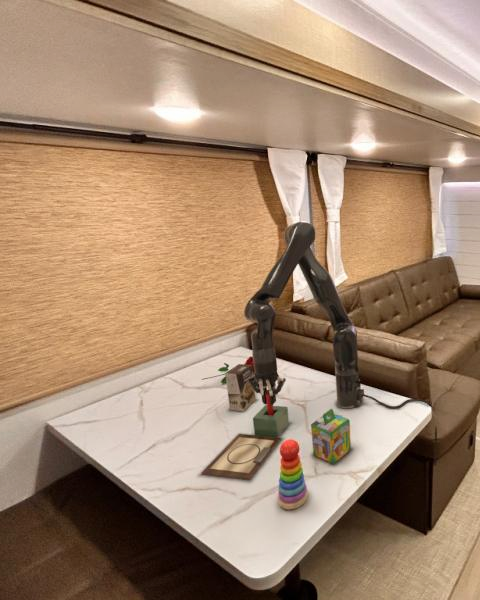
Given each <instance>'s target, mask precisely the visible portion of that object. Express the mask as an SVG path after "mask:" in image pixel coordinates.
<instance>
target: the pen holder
mask: <svg viewBox="0 0 480 600" xmlns="http://www.w3.org/2000/svg"><path fill="white" fill-rule="evenodd" d="M273 410H274V415H273V416H271V415H268V410H267V404H264V406H263V407H262V408H261V409H260V410H258V412H257V413H256V414H255V415H254V416H253V417H252V422H253V423H252V424H253V431H254V435H257V436H267V437H277V438H280V436H281V435H282V434H283V432H284V430H286V428H287V427H288V426H289V425H290V418H289V408H288V406H281V405H273Z"/></svg>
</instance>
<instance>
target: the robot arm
mask: <svg viewBox="0 0 480 600" xmlns="http://www.w3.org/2000/svg"><path fill="white" fill-rule="evenodd" d="M316 237H317V231H316V228H315V226H314V225H313V224H312V223H310V222H308V221H304V220H302V221H297V222H295V223H292V224H291V225H288V226H287V227H286V228H285V230H284V233H283V239H284V242H285V244H286V248H285V249H284V252H283V253H282V254H281V256H280V257H279V259H278V260H277V261H276V262H275V264H274V265H273V266H272V268H271V269H270V270H269V272H268V273H267V275H266V277H265V279H264V281H263V283H262V285H261V287H260V288H259V289H258V290H257V291H256V292H255V293H254V294H253V296H252V297H251V298H250V299H249V300H248V301H247V303H246V304H245V307H244V310H243V312H244V313H243V315H244V318H245V320H247V321H249V322H251V323H255V324H257V328H256V329H254V330H253V331H252V332H251V336H250V340H251V346H252V347H251V348H252V349H251V351H252V353H251V354H252V355H251V356H252V357H253V364H254V372H253V373H254V374H253V376H252V377H251V378H250V379H248V381H249V383H250V384H251V386H252V387H253V389H254V390H255V394H260V395H261V402H262V404H263V405H267V403H266V395H265V391H266V390H269V393H270V396H269V397H270V405H273V406H274V404H276V402H277V395H278V394H279V393H280V392H281V391H282V390H283V387H284V385H285V383H286V381H287V380H286V378H285V377H283V378H282V377H280V375H279V373H278V362H277V352H276V347H275V339H274V330H275V325H276V320H277V319H276V318H277V314H276V310H275V308H274V307H273V305H271V304H270V303H271V302H273V301H278V300H279V299H280V298H281V296H282V294H283V293H284V290H285V289H286V287H287V285H288V283H289V280H290V279H291V277H292V275H293V273H294V271H295V270H296V268H297V266H299V268H300V271H301V273H302V275H303V278H304V279H305V281H306V284H307V286H308V288H309V290H310V292H311V294H312V297H313V299H314V300H315V302H316V303H317V305H318V307H319V308H320V309H321V310H322V311H323V312H324V314H325V315H326V317H327V318H328V321H329V323H330V325H331V329H332V331H333V335H332V350H333V351H332V352H333V360H334V374H335V375H334V376H335V390H336V391H335V392H336V406H338V407H339V408H341V409H352V408H358V407H359V405H360V403H361V402H362V400H363V398H364V397H365V398H367V399H371V400H373V401H374V402H376V403H377V404H379V405H381V406H384V407H386V408H387V409H399V408H401V407H403V406H404V405H405V404H407V403H409V402H423V403H425V404H426V405H427V406H429V407H433V405H432V404H431V403H430V402H429V401H427V400H425V399H423V398H410V399H407V400H404V401H403V402H402V403H400V404H398V405H387V404H386V403H384V402H382V401H380V400H378V399H377V398H376V397H373V396H370V395H367V394H365V389H364V388H362V385H361V379H360V373H359V356H358V354H359V353H358V331H357V329H356V327H355V325H354V323H353V322H352V320H351V318H350V316H349V315H348V313H347V311H346V309H345V306H344V305H343V304H344V303H343V301H342V298H341V295H340V293H339V291H338V288H337V286H336V284H335V282H334V280H333V277H332V276H331V274H330V272H329V271H328V270H327V268H326V267H324V266H323V265H322V264H321V262H320V261H319V260H318V258H317V257H316V256H315V254H314V251H313V250H312V248H311V247H312V245H313V244H314V242H315V241H316ZM276 382H277V383H276ZM437 428H438V427H435V430H434V454H433V456H434V457H433V462H434V467H436V466H437V450H438V448H437V446H438V429H437Z"/></svg>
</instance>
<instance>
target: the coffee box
mask: <svg viewBox="0 0 480 600" xmlns="http://www.w3.org/2000/svg"><path fill="white" fill-rule="evenodd" d="M224 374H225V375H224V376H226V383H225V384H226V389H227V398H228V405H229V410H230V411H237V412H244V411H245V410H247V408H249V407H250V406H251V405H253V404H254V403H255V402H256V401H257V397H256V395H257V394H256V392H255V390H254V389H253V387H252V386H251V384H250V383H249V381H248V379H250V378H251V377H252V376H254V372H253V370H252V365H245V363H244V364H242V363H241V364H240V363H238V364H236V365H235V366H234V367H232V368H231V369H228V371H226V372H224Z"/></svg>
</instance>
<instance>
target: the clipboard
mask: <svg viewBox="0 0 480 600" xmlns="http://www.w3.org/2000/svg"><path fill="white" fill-rule="evenodd" d="M281 440H282V437H278V438H277V437H267V436H257V435H255V434H245V433H238V434H237V435H236V436H235V437H234V438H233V439H232V440H231V441H230V442H229V444H227V445H226V447H224V449H222V451H221V452H220V453H219V454H218V455H217V456H216V457H214V459H213V460H212V461H211V462H210V463H209V464H208V465H207V466H206V467H205V468H204V469H203V471H201V475H202V476H203V475H204V476H212V477H221V478H229V479H237V480H246V481H251V480H252V479H253V477H254V476H255V475H256V473H257V472H258V470H259V469H260V468H261V467H262V465H263V464H264V463H265V462H266V461H267V459H268V457H269V456H270V455H271V453H272V452H273V451H274V450H275V448H276V447H277V446H278V444H279V443H280V442H281Z"/></svg>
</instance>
